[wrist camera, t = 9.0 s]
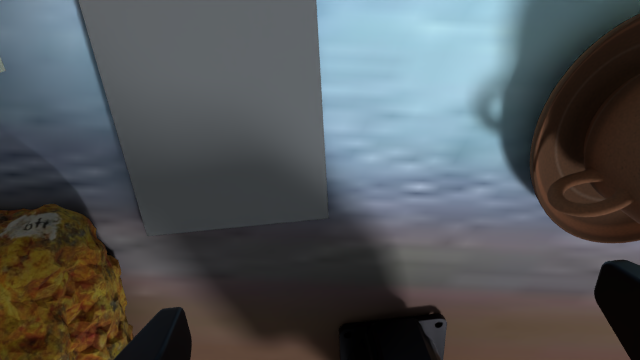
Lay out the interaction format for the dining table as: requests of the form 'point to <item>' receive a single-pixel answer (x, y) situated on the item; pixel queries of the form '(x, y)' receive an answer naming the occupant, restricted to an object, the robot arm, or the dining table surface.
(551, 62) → the dining table surface
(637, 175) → the cup and saucer
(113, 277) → the rock
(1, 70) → the board
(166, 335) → the robot arm
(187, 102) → the grey rectangular panel
